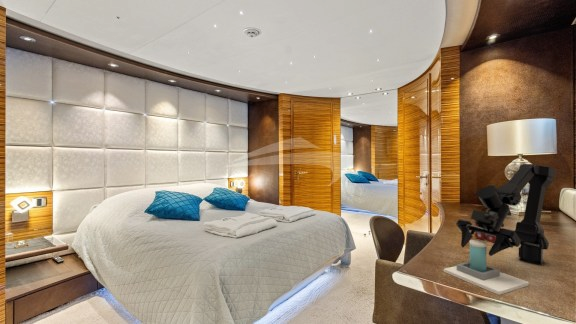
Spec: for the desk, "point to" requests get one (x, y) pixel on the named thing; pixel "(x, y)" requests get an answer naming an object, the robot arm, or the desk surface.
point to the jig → (487, 278)
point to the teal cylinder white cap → (478, 255)
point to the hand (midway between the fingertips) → (475, 250)
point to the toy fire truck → (485, 236)
